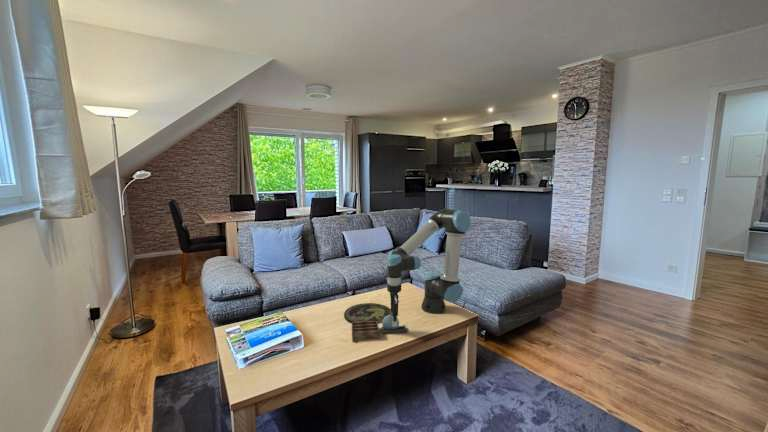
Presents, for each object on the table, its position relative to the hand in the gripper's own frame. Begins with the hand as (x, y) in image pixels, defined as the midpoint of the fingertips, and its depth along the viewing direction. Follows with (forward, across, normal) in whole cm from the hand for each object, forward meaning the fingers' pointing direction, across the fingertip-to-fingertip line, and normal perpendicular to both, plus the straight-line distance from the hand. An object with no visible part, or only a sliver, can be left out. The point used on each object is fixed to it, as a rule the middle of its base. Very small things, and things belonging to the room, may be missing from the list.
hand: (394, 325), depth 176 cm
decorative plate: (+5, -24, -12) cm, 27 cm away
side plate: (+3, 0, 0) cm, 3 cm away
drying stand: (+4, 0, 0) cm, 4 cm away
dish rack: (+4, +1, -16) cm, 17 cm away
